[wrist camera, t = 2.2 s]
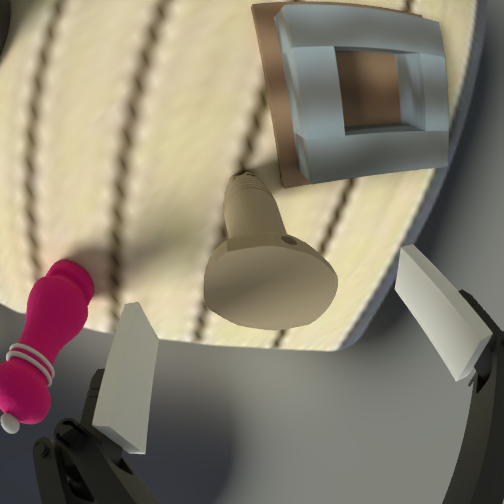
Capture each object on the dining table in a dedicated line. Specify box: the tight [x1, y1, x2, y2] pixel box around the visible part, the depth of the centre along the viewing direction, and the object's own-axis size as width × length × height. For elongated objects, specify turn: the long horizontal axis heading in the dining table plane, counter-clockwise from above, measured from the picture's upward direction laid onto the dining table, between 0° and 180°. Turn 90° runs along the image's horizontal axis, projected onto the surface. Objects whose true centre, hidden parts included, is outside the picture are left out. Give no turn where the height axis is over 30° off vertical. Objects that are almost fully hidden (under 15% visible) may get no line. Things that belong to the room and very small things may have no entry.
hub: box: [251, 2, 449, 189], centre depth 20 cm, size 17×17×5 cm
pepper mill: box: [0, 261, 94, 433], centre depth 21 cm, size 7×7×20 cm
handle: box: [204, 172, 338, 330], centre depth 20 cm, size 5×6×15 cm
